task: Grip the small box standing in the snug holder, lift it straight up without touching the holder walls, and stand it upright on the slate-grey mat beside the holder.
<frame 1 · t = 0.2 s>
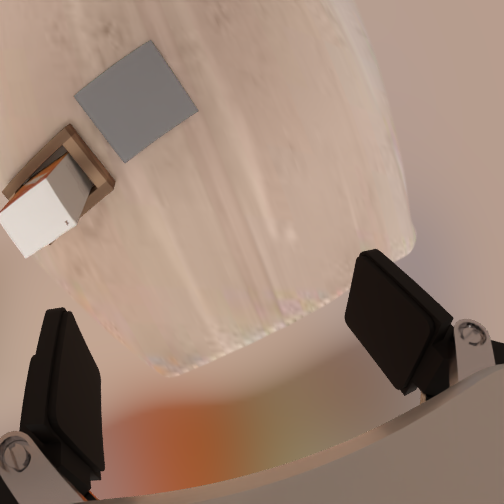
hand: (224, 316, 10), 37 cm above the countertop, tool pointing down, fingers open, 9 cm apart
holder: (60, 181, 38), on the countertop
small box: (60, 181, 39), resting in holder
mat: (135, 101, 37), on the countertop
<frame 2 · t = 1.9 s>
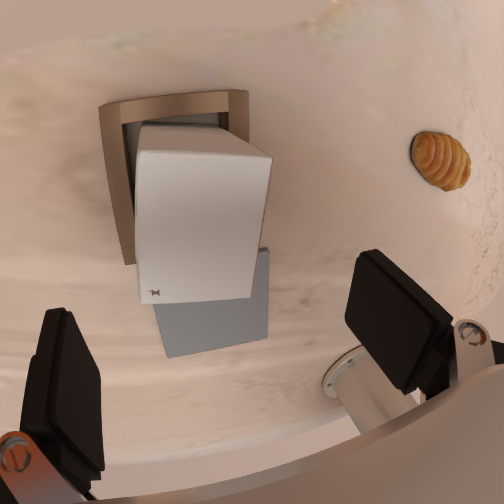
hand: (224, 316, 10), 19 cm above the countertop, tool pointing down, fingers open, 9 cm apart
holder: (176, 168, 26), on the countertop
small box: (175, 168, 26), resting in holder
mat: (212, 306, 34), on the countertop
pastry: (433, 158, 34), on the countertop
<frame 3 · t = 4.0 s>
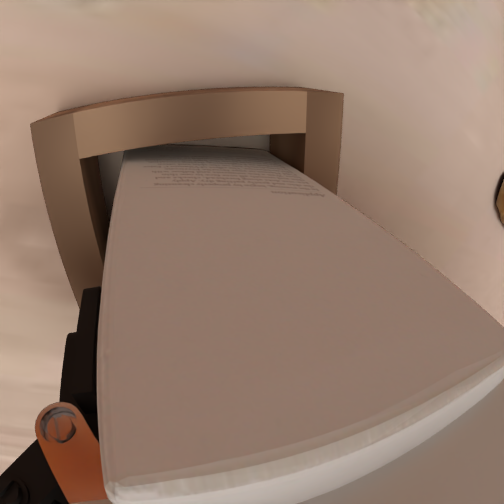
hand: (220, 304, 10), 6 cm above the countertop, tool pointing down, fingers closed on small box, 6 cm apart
holder: (192, 227, 15), on the countertop
small box: (191, 225, 15), resting in holder, touching gripper
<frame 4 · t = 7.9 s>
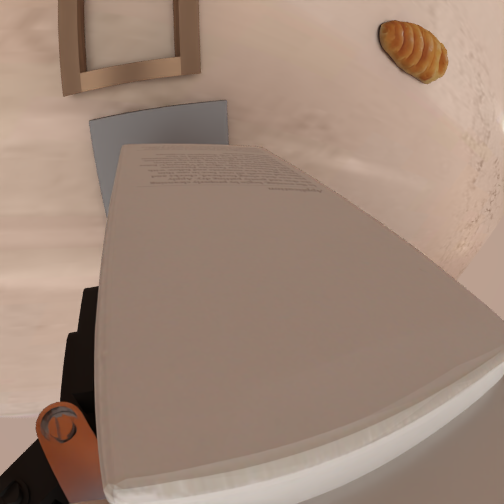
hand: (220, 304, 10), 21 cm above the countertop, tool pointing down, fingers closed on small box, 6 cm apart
holder: (128, 13, 20), on the countertop
small box: (189, 223, 15), point 15 cm above the countertop, touching gripper
mat: (164, 172, 28), on the countertop
pastry: (406, 51, 29), on the countertop
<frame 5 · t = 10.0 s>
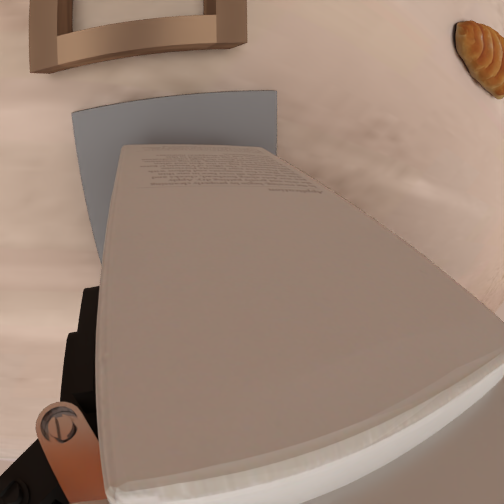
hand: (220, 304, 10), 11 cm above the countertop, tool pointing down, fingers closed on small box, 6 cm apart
small box: (189, 224, 15), point 5 cm above the countertop, touching gripper
mat: (181, 191, 20), on the countertop
pastry: (478, 58, 21), on the countertop
when the fingers open (8 cm above the countertop, at t = 11.7 s): small box drops 1 cm, resting on mat.
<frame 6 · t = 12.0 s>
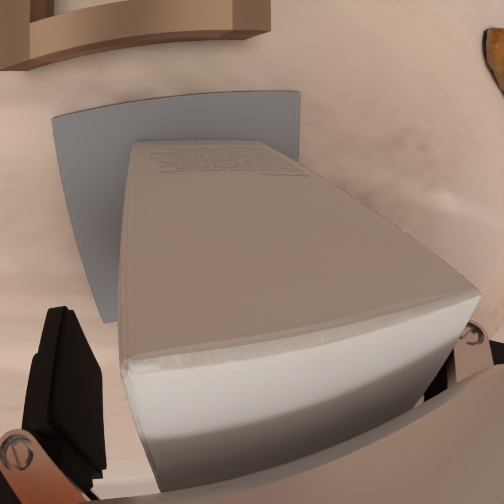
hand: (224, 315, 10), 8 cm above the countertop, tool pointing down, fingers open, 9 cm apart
small box: (194, 213, 17), resting on mat
mat: (185, 210, 17), on the countertop
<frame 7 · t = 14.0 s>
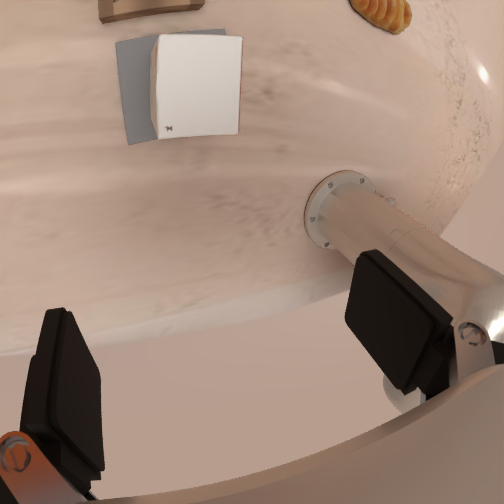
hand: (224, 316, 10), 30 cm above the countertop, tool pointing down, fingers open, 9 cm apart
small box: (178, 83, 31), resting on mat
mat: (174, 83, 32), on the countertop
pastry: (375, 10, 33), on the countertop
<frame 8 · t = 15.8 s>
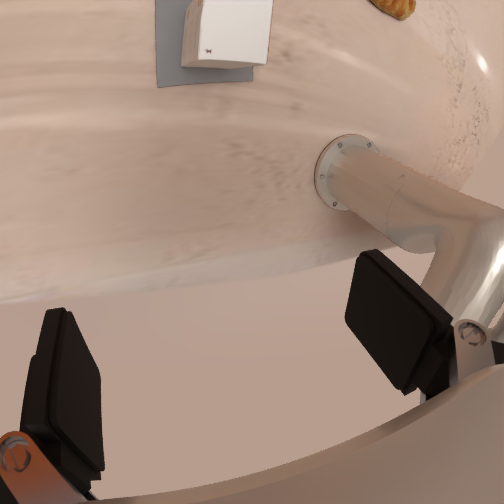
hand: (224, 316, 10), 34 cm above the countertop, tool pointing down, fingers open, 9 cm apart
small box: (208, 38, 33), resting on mat
mat: (204, 38, 33), on the countertop
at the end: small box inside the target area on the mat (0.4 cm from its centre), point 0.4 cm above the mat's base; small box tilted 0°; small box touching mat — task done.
